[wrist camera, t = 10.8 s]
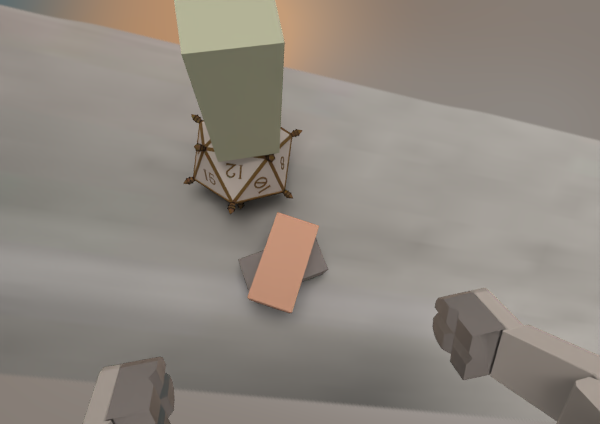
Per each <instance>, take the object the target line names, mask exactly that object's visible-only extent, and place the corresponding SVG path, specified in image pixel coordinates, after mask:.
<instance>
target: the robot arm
mask: <svg viewBox="0 0 600 424" xmlns="http://www.w3.org/2000/svg"><path fill="white" fill-rule="evenodd" d="M435 308H436V310H437V311H438V313H437V314H436V316H435V317H434V318H433V331H434V335H435V338H436V340H437V342H438V344H439V345H440V347H441V348H442V349H443V350H445V351H446V352H448V353H450V354H451V358H450V362H451V363H452V365H453V366H454V368H455V369H456V371H457V372H458V374H459V375H460V376H461V378H462V379H463V380H467V379H471V378H476V377H481V376H485V375H490V374H491V375H490V376H491V377H492V378H494V379H495V380H497V381H498V382H500V383H501V384H503V385H504V386H506V387H507V388H509V389H510V390H512V391H513V392H515V393H516V394H517V395H519V396H520V397H522V398H523V399H525V400H526V401H528V402H529V403H531V404H532V405H534V406H535V407H537V408H538V409H540V410H541V411H543V412H544V413H546V414H547V415H548V416H550V417H551V418H553V419H554V420H556V421H557V423H556V424H600V356H599V355H597V354H595V353H592V352H590V351H588V350H585V349H583V348H581V347H579V346H576V345H574V344H572V343H569V342H567V341H565V340H563V339H560V338H558V337H556V336H553V335H551V334H549V333H547V332H544V331H542V330H540V329H537V328H535V327H533V326H531V325H523V324H522V323H521V322H520V321H519V320H518V319H517V318H516V317H515V316H514V315H513V314H512V313H511V312H510V311H509V310H508V309H507V308H506V307H505V306H504V305H503V304H502V303H501V302H500V301H499V300H498V299H497V298H496V297H495V296H494V295H493V294H492V293H491V292H490V291H489V290H488V289H486V288H481V289H476V290H472V291H468V292H462V293H457V294H453V295H449V296H444V297H440V298H438V299H437V300H436V303H435ZM165 369H166V364H165V361H164V359H163V357H155V358H150V359H144V360H139V361H133V362H128V363H123V364H119V365H113V366H108V367H103V369H102V370H101V371H100V373H99V375H98V378H97V381H96V384H95V387H94V390H93V393H92V396H91V399H90V402H89V405H88V408H87V411H86V414H85V418H84V421H83V423H82V424H170V422H169V419H168V418H169V416H170V415H171V413H172V412H173V411H174V387H173V382H172V379H171V376H170V375H168V374H167V373H165Z"/></svg>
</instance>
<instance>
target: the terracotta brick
mask: <svg viewBox="0 0 600 424" xmlns="http://www.w3.org/2000/svg"><path fill="white" fill-rule="evenodd" d="M318 228H319V226H318V225H315V224H312V223H309V222H306V221H303V220H300V219H297V218H294V217H291V216H288V215H285V214H282V213H279V212H277V215H276V218H275V221H274V223H273V226H272V229H271V232H270V235H269V238H268V240H267V243H266V246H265V249H264V252H263V254H262V257H261V260H260V263H259V266H258V269H257V271H256V274H255V277H254V280H253V283H252V285H251V288H250V291H249V294H248V297H247V298H248V299H249V300H251V301H254V302H257V303H260V304H263V305H266V306H269V307H272V308H275V309H278V310H281V311H284V312H287V313H292V311H293V307H294V304H295V301H296V298H297V295H298V292H299V288H300V285H301V282H302V279H303V276H304V272H305V269H306V266H307V263H308V260H309V257H310V253H311V250H312V247H313V244H314V241H315V237H316V234H317V231H318Z"/></svg>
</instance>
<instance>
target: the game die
mask: <svg viewBox="0 0 600 424" xmlns="http://www.w3.org/2000/svg"><path fill="white" fill-rule="evenodd" d="M191 115H192V114H191ZM192 118H193V120H194V121H195V122H196V123H199V131H198V140H197V145H195V146H194V147H195V149H196V157H195V165H194V174H193V177H189V178H186V180H185V182H184V184H189V185H190V184H191V183H193V182H194V181H197V182H198V183H200V184H201V185H203V186H205V187H206V188H208V189H209V190H211V191H212V192H214V193H215V194H217V195H219V196H220V197H222V198H223V199H225V200H226V201H228V202H229V203H230V204H229V205H228V206H229V207H228V208H227V209H228V210H229V213H230V214H231V213H232V212H234V211H235V207H236V206H235V204H238V207H239V208H240V209H241V208H243V206H244V202H246V201H250V200H254V199H258V198H262V197H266V196H271V195H275V194H279V193H283V194H284V196H286V197H287V198H293V197H292V195H291V193H290V192H289V191H287V190H285V187H286V179H287V172H288V164H289V157H290V149H291V142H292V137H296V136H299V134H300V133H301V132H302V130H297V129H296V130H293V132H292V133H289V132H288V131H286V130H285V129H283V128H282V127H281V128H280V149H279V153H276V154H269V155H262V156H256V157H249V158H242V159H236V160H229V161H222V162H218V160H217V157H216V154H215V151H214V149H213V146H212V143H211V140H210V137H209V134H208V131H207V128H206V125H205V122H204V120H201V117H199V116H198V115H192Z"/></svg>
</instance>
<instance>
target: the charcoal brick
mask: <svg viewBox="0 0 600 424" xmlns="http://www.w3.org/2000/svg"><path fill="white" fill-rule="evenodd" d="M263 252H264V250H263V251H260V252H257V253H255V254H252V255H249V256H246V257H244V258H241V259H238V261H239V264H240V267H241V270H242V273H243V276H244V279H245V282H246V285H247V287H248V290H249V291H250V288H251V285H252V283H253V280H254V277H255V274H256V271H257V269H258V266H259V263H260V260H261V257H262V254H263ZM327 270H328V268H327V265H326V263H325V260H324V258H323V255H322V253H321V250H320V248H319V245H318V243H317V240H316V238H315V241H314V244H313V247H312V250H311V253H310V257H309V260H308V263H307V266H306V269H305V272H304V276H303V279H302V282H303V281H306V280H309V279H311V278H314V277H316V276H319V275H322V274H323V273H325V272H326V271H327Z"/></svg>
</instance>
